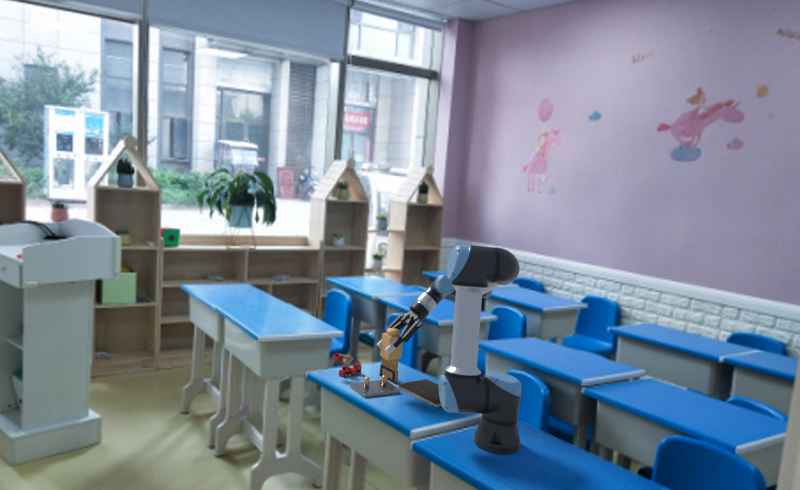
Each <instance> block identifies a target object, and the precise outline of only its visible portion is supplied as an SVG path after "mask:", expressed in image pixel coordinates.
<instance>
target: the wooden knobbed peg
mask: <svg viewBox="0 0 800 490" xmlns="http://www.w3.org/2000/svg"><path fill="white" fill-rule="evenodd" d="M400 334H401V333H400V330H399V329H395V328H388V329H387V330H386V332H382V334H381V339H382V342H381V349H380V354H379V356H381V358H382V357H384V358H385V359H387V360H395V359H398V360H401V359H402V354H403V343H404V342H402V343H401V344H400V345H399V346H398V347H397V348H396V349H395V350H394V351H393V352H392V353H391V354H388V352H387V351H386V350H385V349H386V348H387V347H388V346H389V345H390V344H391V343H392V342H393V341H394V340H395V339H396V337H397V336H400ZM397 338H398V337H397ZM398 339H399V338H398Z"/></svg>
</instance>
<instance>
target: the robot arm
mask: <svg viewBox="0 0 800 490" xmlns="http://www.w3.org/2000/svg"><path fill="white" fill-rule="evenodd" d="M448 258H449V259H448V261H447V268H446V270H447V272H446V273H445V274H440V275H438V276H437V277H436V278H434V281H433V282H432V283H430V285H428V287H427V288H426V289H425V290H424V291H423V292H422V293H421V294H420V295H419V296H418V297H417V298H416V300H415V301H414V302H413V303H412V304H411V305H410V306H409V311H407V312H406V313H404V311H401V312H400V313H399V315H398V316H397V317H396V318H395V319H394V320H393V321H392V322H391V323H390V324H389V325H388V326H387V327H386V329H385V330H386V331H387V329H388V328H395V329H399V331H400V330H402V331H401V333H399V334H400V336H397V337H398V338H399V339H398V338H397V337H396V339H395V340H394V341H393V342H392V343H391V344H390V345H389V346H388V347H387V348H386V349H385V350H386V351H387V352H388V354H391V353H392V352H393V351H394V350H395V349H396V348H397V347H398V346H399V345H400V344H401V343H402V342H403V343H408V342H409V341H410V339H411V338H412V337H413V336H414V335H415V334H416V333H417V331H418V330H419V329H420V328H421V327H423V325H424V323H423V322H422V321H423V320H425V319H426V318H427V317H428V316H429V315H430V313H432V311H433V310H434V309H435V308H436V307H437V306H438V305H439V304H440V302H441V301H442V300H443V299H444V298H445V297H447V296H449V297H450V296H452V297H455V298H454V312H453V326H452V337H451V338H452V340H451V351H450V363H449V365H448V366H447V367H445V370H444V374H441V375H440V376H439V377H438V385H439V397H440V402H441V405H442V406H441V407H442V409H443V410H444V411H445V412H447V413H455V414H481V419H480V421H479V424H478V426H477V428H476V429H475V432H474V435H473V442H474V444H475V445H476V446H477V447H478V448H480V449H482V450H484V451H487V452H489V453H494V454H501V455H502V454H505V455H506V454H507V455H508V454H509V455H510V454H514V453H517V452H518V451H520V448H521V437H520V433H519V427H518V419H519V412H520V403H521V397H522V383H521V381H520V380H519V379H518V378H516V377H515V376H514V375H510V374H508V373H505V372H501V371H495V370H493V371H492V370H491V371H488V372H486V374H485V376H482V371H481V370H480V369H479V368H478V357H479V356H478V354H479V343H480V342H479V341H480V329H481V315H482V314H481V313H482V303H483V300H482V299H490V297H491V296H492V293H493V290H494V289H496V288H498V287H499V286H506V285H509V284H511V283H512V282H514V281H515V280H516V279H517V278H518V276H519V273H520V269H521V268H520V263H519V260H518V259H517V257H516V256H515V254H513V253H512V252H510V250H508V249H506V248H502V247H497V246H496V247H495V246H494V247H493V246H485V245H484V246H481V245H473V244H457V245H456V246H454V248H453V249H452V251H451V253H450V255H449V257H448ZM381 342H382V338H381V339H380V340H379V342H377V344H376V346H378V347H379V349H380V350H381Z"/></svg>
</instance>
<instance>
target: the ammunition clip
mask: <svg viewBox="0 0 800 490" xmlns="http://www.w3.org/2000/svg"><path fill="white" fill-rule="evenodd" d="M398 368H399V359H395V360H387V359H385V358H384V357H382V356H381V363H380V367H379V377H381V378H382V375H387V381H388V382H390V383H391V384H398V379H399V369H398Z"/></svg>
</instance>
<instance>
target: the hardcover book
mask: <svg viewBox="0 0 800 490" xmlns="http://www.w3.org/2000/svg"><path fill="white" fill-rule="evenodd" d="M397 385H398V388H399V389H400V391H403V392H405V393H407V394H409V395H411V396H413V397H414V398H416V399H418V398H419V400H421V401H422V402H424V403H426V402H427V403H426V404H428V403H429V404H428V405H430V406H432V405H433V406H432V407H434V406H435V407H434V408H436V407H437V408H440V407H439V406H441V407H442V405H441V402H440V397H439V383H436V382H434V381H432V380H429V379H427V378H423V379H418V380H413V381H408V382H402V383H397Z"/></svg>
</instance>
